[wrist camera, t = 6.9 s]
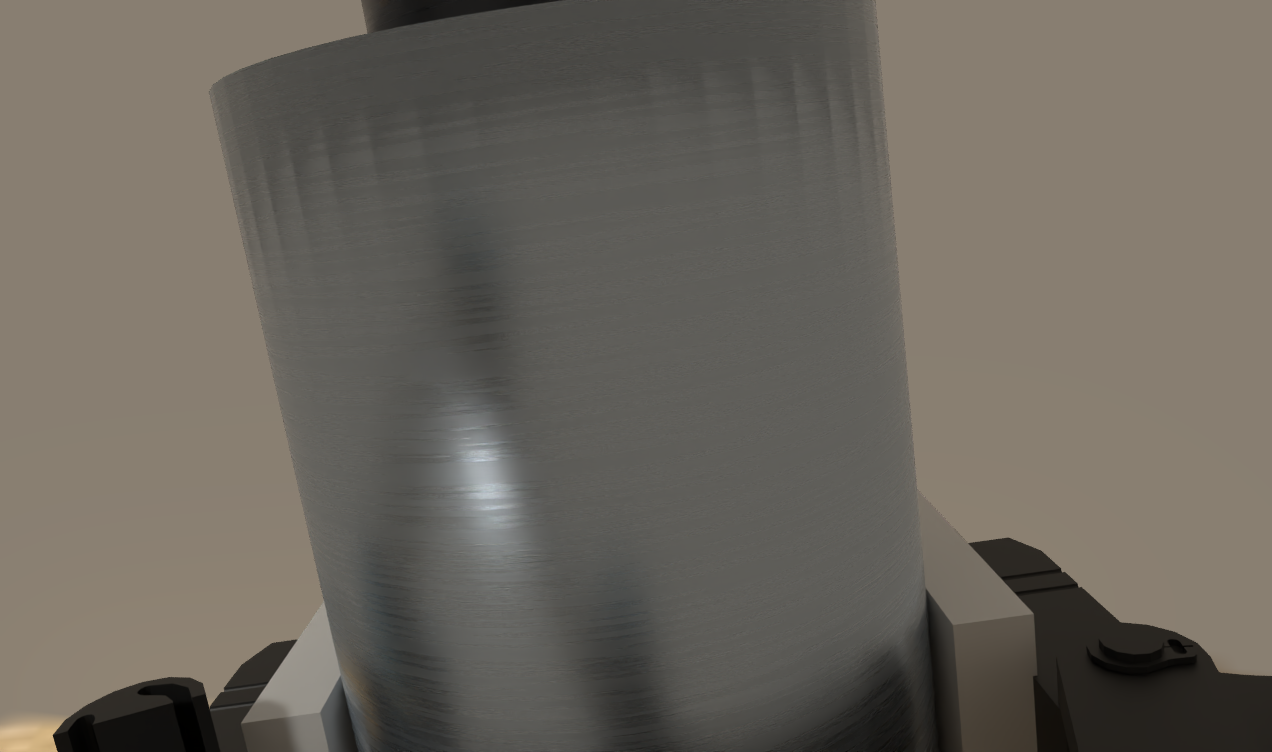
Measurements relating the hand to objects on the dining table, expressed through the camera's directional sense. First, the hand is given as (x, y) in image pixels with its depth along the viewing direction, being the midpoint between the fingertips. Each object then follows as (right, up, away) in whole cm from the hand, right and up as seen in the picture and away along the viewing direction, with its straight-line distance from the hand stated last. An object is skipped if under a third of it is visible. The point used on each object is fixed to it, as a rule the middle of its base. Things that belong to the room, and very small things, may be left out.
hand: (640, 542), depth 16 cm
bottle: (+1, -10, -3) cm, 10 cm away
